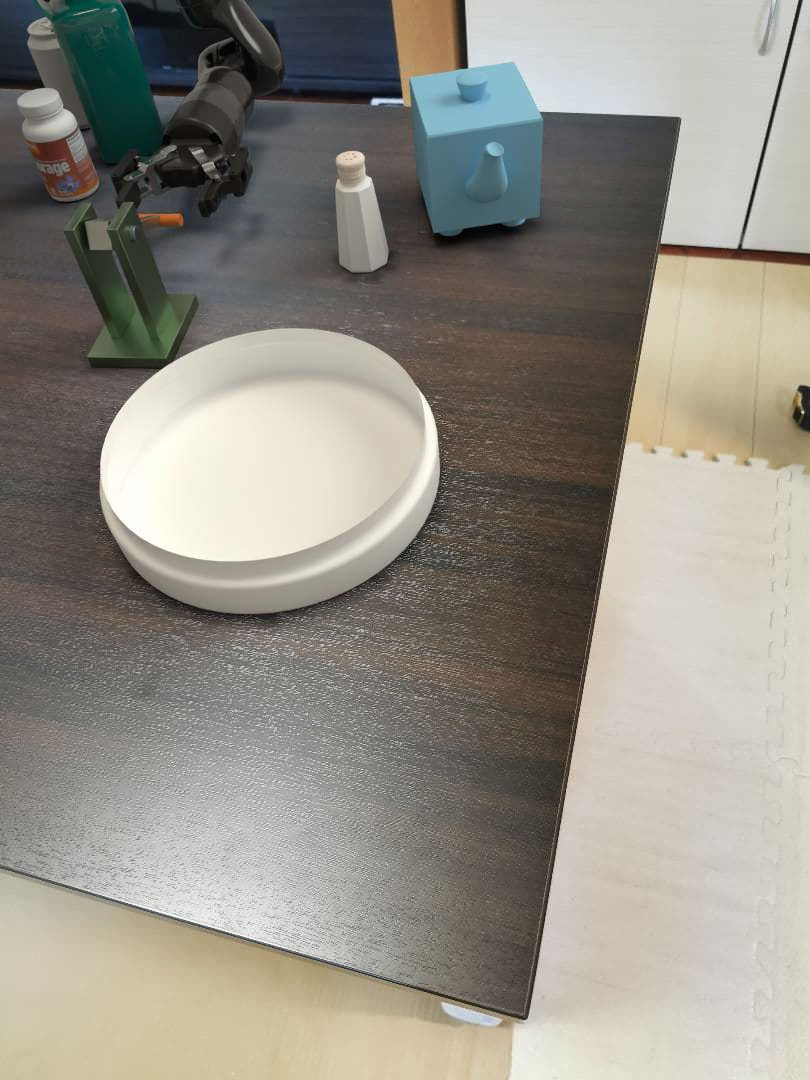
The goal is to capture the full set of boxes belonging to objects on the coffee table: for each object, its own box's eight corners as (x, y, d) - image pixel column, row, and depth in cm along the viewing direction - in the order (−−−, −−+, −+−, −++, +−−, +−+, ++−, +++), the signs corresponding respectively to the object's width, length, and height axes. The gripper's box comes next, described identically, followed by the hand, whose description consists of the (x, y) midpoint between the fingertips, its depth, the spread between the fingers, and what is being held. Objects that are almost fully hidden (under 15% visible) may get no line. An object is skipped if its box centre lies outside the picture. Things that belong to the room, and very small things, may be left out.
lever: (138, 232, 86) (134, 207, 85) (184, 231, 85) (181, 206, 84) (74, 250, 74) (69, 221, 73) (127, 250, 74) (122, 221, 73)
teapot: (414, 173, 98) (403, 45, 87) (508, 158, 98) (509, 29, 87) (443, 281, 84) (435, 146, 73) (553, 265, 84) (560, 127, 74)
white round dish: (63, 603, 63) (32, 560, 59) (172, 367, 80) (153, 320, 75) (418, 628, 59) (411, 583, 55) (455, 373, 75) (453, 323, 71)
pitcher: (157, 124, 112) (95, -72, 95) (171, 151, 107) (108, -51, 90) (85, 144, 110) (8, -52, 93) (95, 172, 105) (17, -30, 88)
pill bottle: (40, 201, 102) (-2, 108, 93) (67, 175, 105) (29, 83, 97) (84, 205, 100) (45, 111, 92) (110, 179, 104) (74, 85, 95)
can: (96, 134, 112) (59, 36, 102) (49, 130, 114) (9, 33, 104) (125, 107, 116) (92, 11, 107) (79, 104, 118) (43, 9, 109)
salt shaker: (396, 266, 87) (385, 162, 78) (346, 279, 86) (329, 176, 77) (381, 239, 90) (368, 137, 81) (333, 251, 89) (315, 150, 81)
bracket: (125, 303, 87) (77, 186, 77) (199, 303, 86) (159, 184, 76) (91, 366, 81) (33, 248, 71) (169, 368, 80) (122, 248, 70)
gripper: (136, 100, 94) (83, 176, 84) (258, 96, 91) (220, 173, 82) (157, 165, 99) (110, 243, 89) (273, 163, 97) (238, 242, 87)
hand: (162, 210), depth 86 cm, fingers open, 8 cm apart
